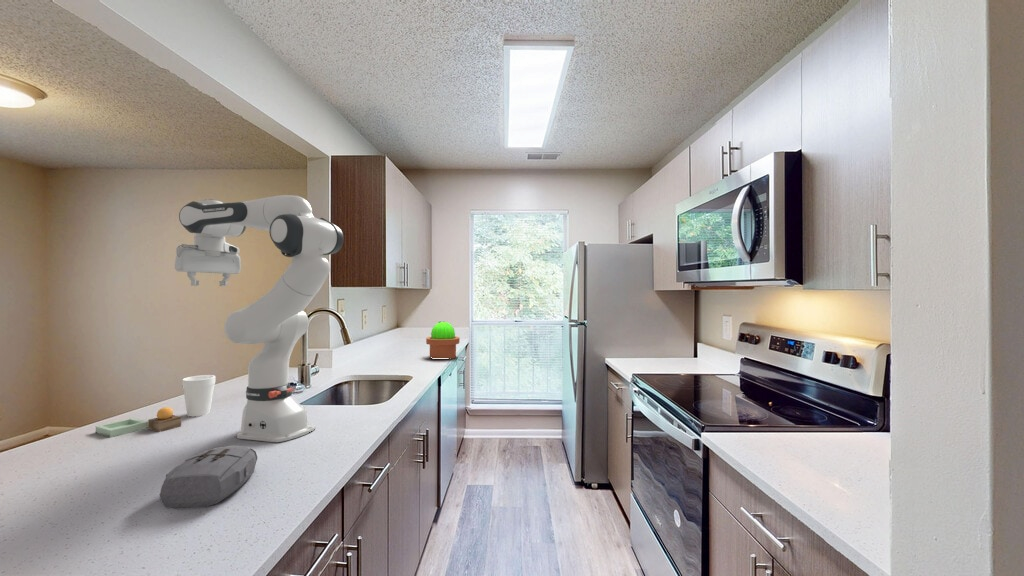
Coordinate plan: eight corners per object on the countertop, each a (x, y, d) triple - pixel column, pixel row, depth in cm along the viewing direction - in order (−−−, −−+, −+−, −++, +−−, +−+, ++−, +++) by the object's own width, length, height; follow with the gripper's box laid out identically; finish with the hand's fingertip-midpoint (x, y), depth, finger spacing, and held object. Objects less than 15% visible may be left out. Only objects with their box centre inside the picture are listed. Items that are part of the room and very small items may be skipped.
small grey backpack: (228, 507, 82) (269, 466, 102) (229, 467, 82) (270, 433, 102) (144, 514, 79) (203, 470, 99) (145, 472, 79) (204, 436, 99)
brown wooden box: (181, 426, 130) (181, 416, 130) (158, 431, 124) (158, 422, 124) (170, 423, 132) (170, 414, 132) (148, 429, 127) (148, 419, 127)
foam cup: (176, 415, 141) (177, 378, 141) (206, 408, 149) (207, 374, 149) (190, 419, 136) (190, 381, 136) (220, 412, 145) (220, 376, 145)
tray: (147, 427, 128) (147, 421, 128) (110, 437, 120) (110, 430, 120) (132, 424, 131) (132, 417, 131) (95, 432, 123) (95, 426, 123)
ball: (175, 418, 129) (176, 406, 129) (160, 422, 126) (161, 409, 126) (168, 417, 131) (168, 405, 131) (153, 420, 127) (154, 408, 127)
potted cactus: (457, 360, 257) (457, 322, 257) (423, 360, 256) (423, 321, 256) (460, 355, 278) (461, 319, 279) (429, 355, 278) (429, 319, 278)
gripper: (183, 242, 129) (182, 285, 129) (244, 249, 149) (243, 286, 148) (170, 243, 131) (169, 285, 131) (232, 249, 151) (231, 286, 151)
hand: (209, 286), depth 140 cm, fingers open, 8 cm apart
